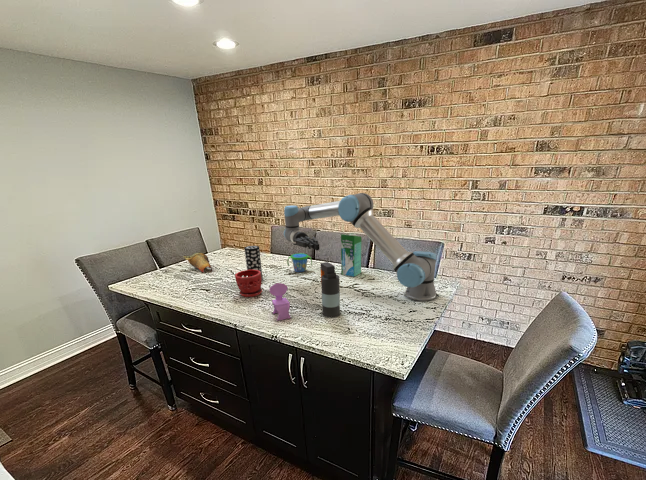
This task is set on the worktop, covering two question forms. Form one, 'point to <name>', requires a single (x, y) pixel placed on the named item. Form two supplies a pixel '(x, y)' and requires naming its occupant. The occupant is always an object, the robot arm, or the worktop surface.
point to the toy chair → (280, 301)
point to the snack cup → (299, 261)
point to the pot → (198, 261)
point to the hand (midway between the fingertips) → (317, 247)
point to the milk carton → (350, 254)
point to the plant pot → (249, 282)
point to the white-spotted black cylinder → (253, 258)
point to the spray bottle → (330, 291)
